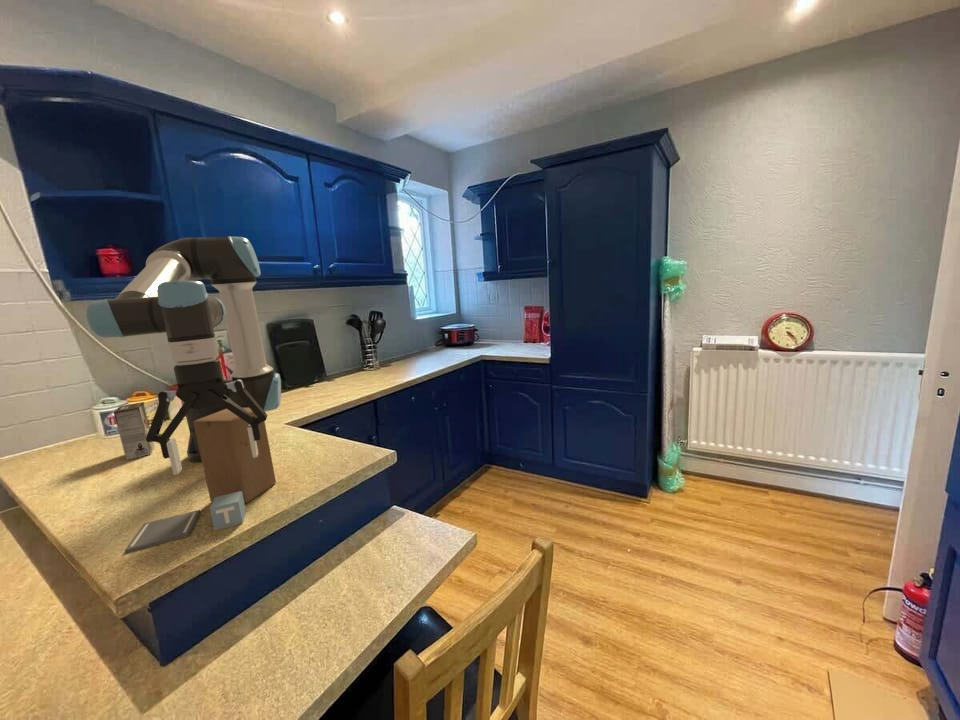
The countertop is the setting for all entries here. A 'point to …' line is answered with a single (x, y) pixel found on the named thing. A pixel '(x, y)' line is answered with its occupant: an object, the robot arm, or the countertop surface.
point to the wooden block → (233, 456)
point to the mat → (163, 531)
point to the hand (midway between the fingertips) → (218, 463)
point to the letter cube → (228, 510)
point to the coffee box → (133, 430)
